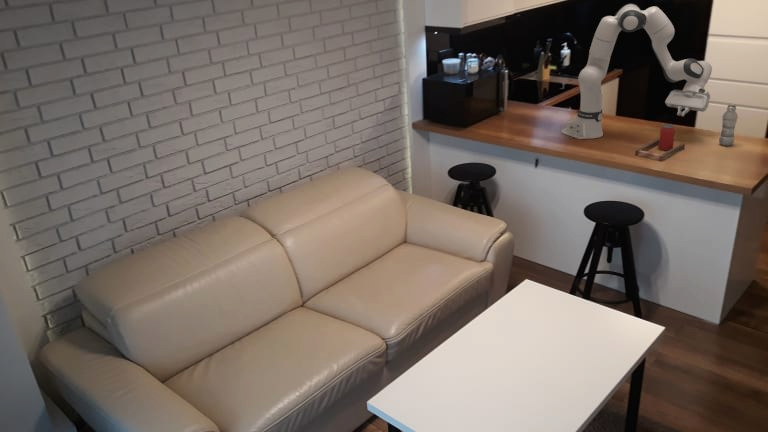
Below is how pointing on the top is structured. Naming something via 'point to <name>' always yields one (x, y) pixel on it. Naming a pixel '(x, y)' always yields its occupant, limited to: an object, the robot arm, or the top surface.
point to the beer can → (666, 137)
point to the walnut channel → (658, 157)
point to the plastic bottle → (728, 126)
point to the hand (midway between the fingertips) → (680, 115)
